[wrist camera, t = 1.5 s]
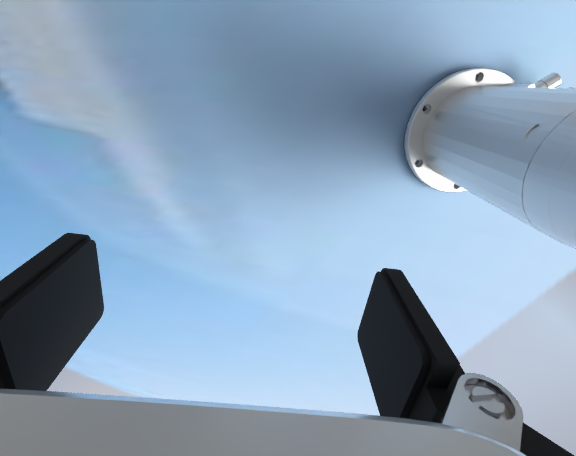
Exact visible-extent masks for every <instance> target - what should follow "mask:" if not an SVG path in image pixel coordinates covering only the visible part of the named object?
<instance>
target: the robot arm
mask: <svg viewBox="0 0 576 456" xmlns="http://www.w3.org/2000/svg"><path fill="white" fill-rule="evenodd" d="M475 76H476V79H475ZM560 84H561V77H560V76H559V75H558V74H557V73H551V74H550V75H548V76H546V77H544V78H543V79H541V80H539V81H538V82H537V83H536V84H517V83H516V82H515V80H513V79H512V78H511V77H509V76H508V75H507V74H505V73H503V72H500V71H498V70H495V69H488V68H472V69H467V70H462V71H459V72H456V73H454V74H451V75H449V76H447V77H445V78H444V79H442V80H441V81H439V82H437V83H436V84H435V85H434V86H433V87H432V88H431V89H429V90H428V91H427V92H426V94H425V95H424V96H423V97H422V98H421V100H420V101H419V102H418V104H417V105H416V107H415V109H414V110H413V112H412V114H411V117H410V119H409V122H408V124H407V129H406V133H405V154H406V159H407V161H408V164H409V167H410V168H411V170H412V171H413V173H414V174H415V176H416V177H417V178H419V179H420V180H421V181H422V182H423V183H425V184H426V185H428V186H429V187H432V188H434V189H436V190H439V191H444V192H461V191H469V192H471V193H472V194H474V195H476V196H478V197H479V198H481V199H483V200H485V201H487V202H488V203H490V204H492V205H494V206H496V207H497V208H499V209H501V210H503V211H504V212H506V213H508V214H510V215H512V216H513V217H515V218H517V219H519V220H520V221H522V222H524V223H526V224H528V225H529V226H531V227H533V228H535V229H536V230H538V231H540V232H542V233H544V234H545V235H547V236H549V237H551V238H553V239H554V240H556V241H558V242H560V243H563V244H565V245H567V246H570V247H573V248H576V89H575V88H567V89H563V88H556V87H558V86H560ZM424 106H425V110H424V111H423V107H424ZM416 161H417V163H415V162H416ZM103 311H104V304H103V296H102V288H101V280H100V273H99V265H98V257H97V249H96V243H95V241H94V240H91V239H90V237H89V236H88V235H83V234H74V233H66V234H64V235H63V236H62V237H60V238H59V239H57V240H56V241H55V242H53V243H52V244H51V245H49V246H48V247H46V248H45V249H44V250H42V251H41V252H39V253H38V254H37V255H35V256H34V257H33V258H31V259H30V260H28V261H27V262H26V263H24V264H23V265H22V266H20V267H19V268H17V269H16V270H15V271H13V272H12V273H11V274H9V275H8V276H6V277H5V278H4V279H2V280H1V281H0V456H574V455H572V454H571V453H569V452H568V451H566V450H565V449H563V448H561V447H560V446H558V445H557V444H555V443H554V442H552V441H551V440H549V439H548V438H546V437H544V436H543V435H541V434H540V433H538V432H537V431H535V430H534V429H532V428H531V427H529V426H527V425H526V424H524V423H523V413H522V409H521V407H520V405H519V403H518V401H517V400H516V399H515V398H514V396H513V395H512V394H511V393H510V392H509V391H508V390H506V389H505V388H504V387H503V386H502V385H500V384H499V383H497V382H496V381H494V380H492V379H490V378H488V377H486V376H484V375H480V374H476V373H467V374H465V373H464V371H463V369H462V368H461V366H460V365H459V364H460V363H459V361H458V359H457V358H456V356H455V355H454V353H453V351H452V350H451V348H450V347H449V345H448V344H447V342H446V340H445V339H444V337H443V336H442V334H441V333H440V331H439V329H438V328H437V326H436V325H435V323H434V321H433V320H432V318H431V317H430V315H429V314H428V312H427V310H426V309H425V307H424V306H423V304H422V302H421V301H420V299H419V298H418V296H417V295H416V293H415V291H414V290H413V288H412V287H411V285H410V283H409V282H408V280H407V279H406V277H405V276H404V274H403V272H402V271H401V270H397V269H388V268H383V269H382V270H381V272H377V273H376V275H375V278H374V281H373V284H372V287H371V291H370V294H369V297H368V300H367V304H366V307H365V310H364V313H363V317H362V320H361V323H360V326H359V330H358V343H359V346H360V349H361V353H362V356H363V359H364V363H365V366H366V369H367V373H368V376H369V379H370V383H371V386H372V390H373V393H374V396H375V400H376V403H377V406H378V410H379V413H380V416H375V415H365V414H355V413H343V412H330V411H317V410H305V409H292V408H279V407H266V406H253V405H239V404H226V403H212V402H198V401H184V400H170V399H156V398H142V397H127V396H112V395H97V394H82V393H67V392H52V391H47V389H48V388H49V387H50V385H51V384H52V383H53V381H54V380H55V379H56V377H57V376H58V375H59V373H60V372H61V371H62V369H63V368H64V367H65V365H66V364H67V362H68V361H69V360H70V358H71V357H72V356H73V354H74V353H75V352H76V350H77V349H78V348H79V346H80V345H81V344H82V342H83V341H84V340H85V338H86V337H87V336H88V334H89V333H90V332H91V330H92V329H93V328H94V326H95V325H96V324H97V322H98V321H99V320H100V318H101V317H102V314H103Z"/></svg>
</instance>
